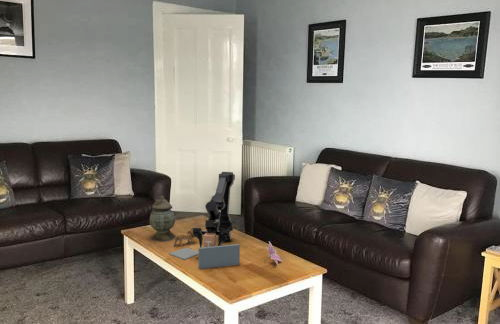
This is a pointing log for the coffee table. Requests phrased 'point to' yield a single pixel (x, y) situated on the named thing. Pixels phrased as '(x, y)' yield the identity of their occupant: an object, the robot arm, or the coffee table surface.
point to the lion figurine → (185, 236)
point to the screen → (219, 256)
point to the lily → (273, 254)
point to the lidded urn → (162, 220)
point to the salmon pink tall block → (209, 239)
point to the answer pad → (184, 253)
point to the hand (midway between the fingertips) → (209, 248)
